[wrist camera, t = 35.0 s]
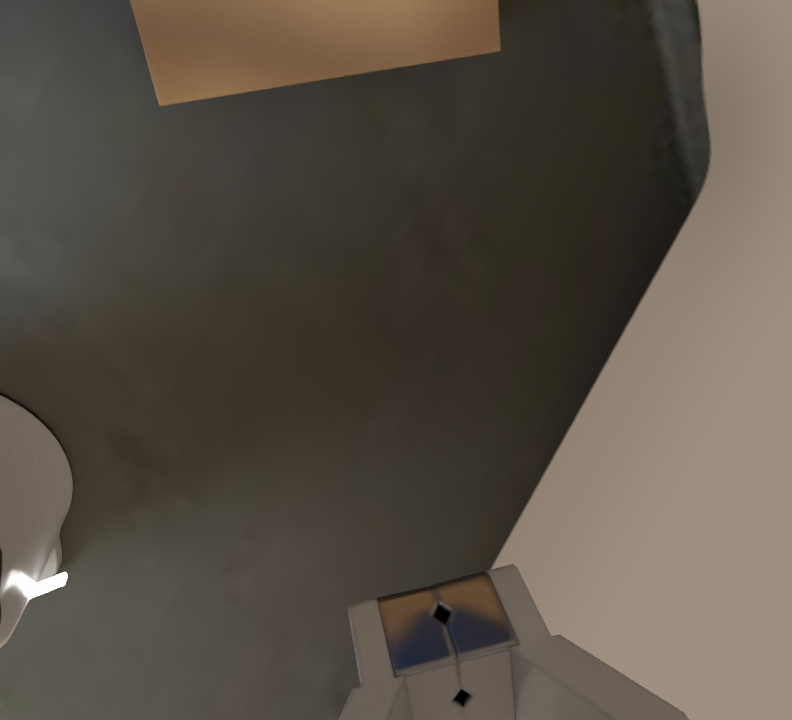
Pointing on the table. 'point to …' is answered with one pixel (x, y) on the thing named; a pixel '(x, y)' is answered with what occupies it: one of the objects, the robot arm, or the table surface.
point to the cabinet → (301, 40)
